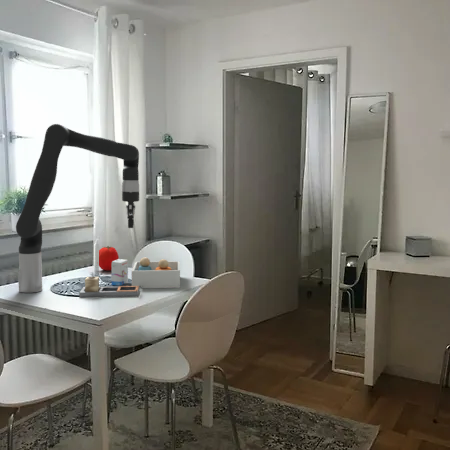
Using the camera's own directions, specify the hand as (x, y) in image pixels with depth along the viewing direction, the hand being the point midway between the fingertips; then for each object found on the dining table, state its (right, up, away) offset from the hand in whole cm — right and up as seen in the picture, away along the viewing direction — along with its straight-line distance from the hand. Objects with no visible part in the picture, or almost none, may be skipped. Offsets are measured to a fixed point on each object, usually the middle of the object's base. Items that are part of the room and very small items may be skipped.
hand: (130, 226), depth 227 cm
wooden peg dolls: (+9, -27, +18) cm, 34 cm away
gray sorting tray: (-7, -30, -9) cm, 32 cm away
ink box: (-7, -28, +11) cm, 31 cm away
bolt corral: (+9, -27, +17) cm, 33 cm away
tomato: (-20, -24, +44) cm, 54 cm away
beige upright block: (-15, -29, -10) cm, 34 cm away
